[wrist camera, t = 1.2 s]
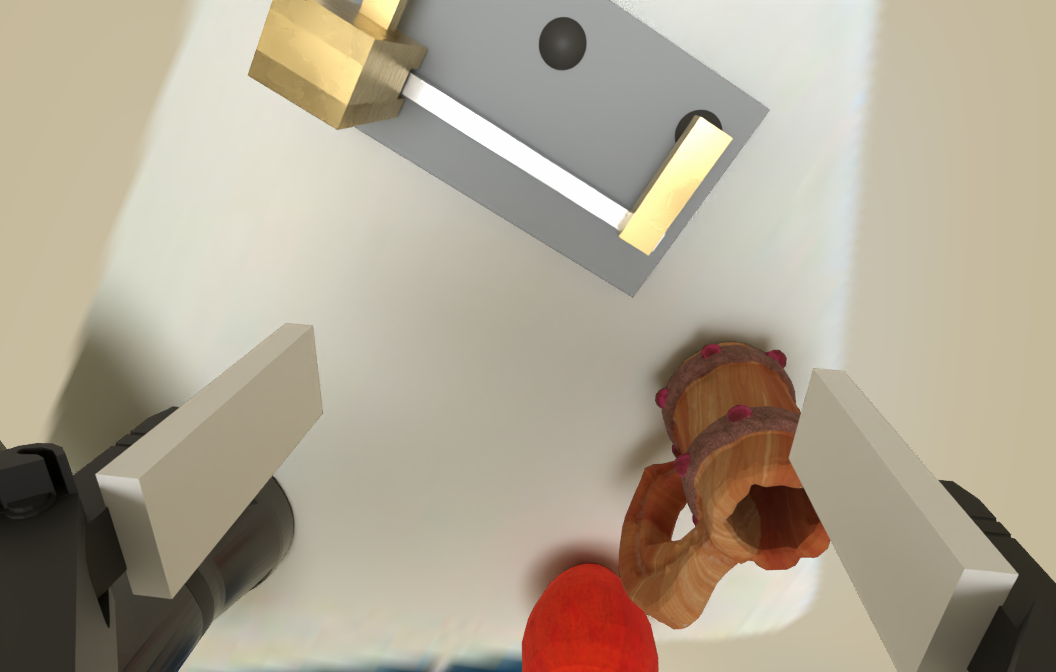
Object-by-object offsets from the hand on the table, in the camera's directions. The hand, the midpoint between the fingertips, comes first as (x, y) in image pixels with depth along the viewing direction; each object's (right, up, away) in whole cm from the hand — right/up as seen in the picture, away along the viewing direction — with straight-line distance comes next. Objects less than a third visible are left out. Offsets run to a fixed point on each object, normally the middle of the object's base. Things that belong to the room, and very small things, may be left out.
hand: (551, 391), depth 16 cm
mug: (+11, -3, +26) cm, 28 cm away
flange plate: (-1, +15, +19) cm, 24 cm away
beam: (-1, +15, +17) cm, 23 cm away
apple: (+5, -19, +33) cm, 39 cm away
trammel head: (-8, +19, +16) cm, 26 cm away
